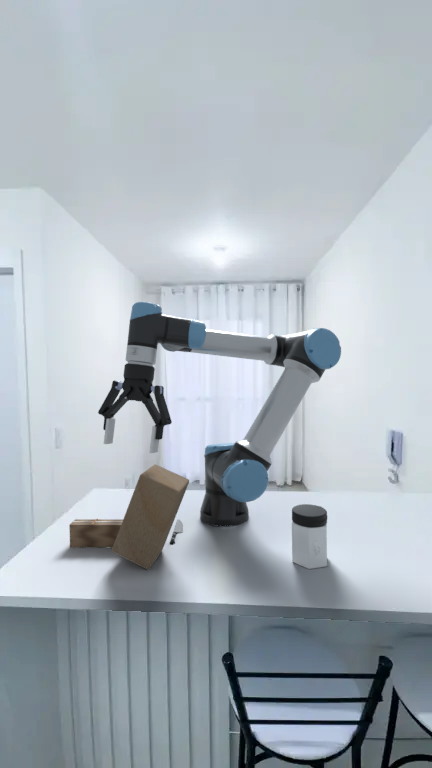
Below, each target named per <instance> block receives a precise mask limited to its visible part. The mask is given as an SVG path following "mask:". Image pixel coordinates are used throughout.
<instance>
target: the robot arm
mask: <svg viewBox="0 0 432 768" xmlns="http://www.w3.org/2000/svg"><path fill="white" fill-rule="evenodd" d="M162 310H163V309H162V307H161V305H159V304H157V303H153V302H148V301H136V302H135V303H134V304H132V306H131V313H130V318H129V324H128V325H129V327H128V335H127V344H126V345H127V346H126V353H125V362H127V363H125V364H124V369H123V378H124V380H123V382H122V381H121V380H112V383H111V387H110V390H109V392H108V393H107V395H106V397H105V399H104V401H103V402H102V404H101V406H100V407H99V410H98V411H97V413H98V415H101V416H102V417H103V418H104V419H103V431H104V436H103V437H104V438H103V444H104V445H109V444H110V445H111V444H113V442H114V435H115V427H116V426H115V424H116V418H114V417H115V415H116V414H117V413H118V412H119V411H120V410H121V409H122V408H123V407H124V406H125V404H126V403H127V402H128V401H135V402H141V403H142V404H143V405H144V406H145V408H146V410H147V411H148V414H149V416H150V417H151V419H152V421H153V423H154V424H155V425H152V428H151V435H150V436H151V437H150V446H149V454H155V453H158V452H159V443H160V440H162V439H163V435H164V427H165V426H169V425H172V423H173V421H172V419H171V415H170V411H169V409H168V405H167V402H166V399H165V395H164V392H165V391H164V389H165V388H164V386H163V385H158V384H157V385H153V383H154V382H153V381H154V379H155V370H156V368H155V367H154V365H156V362H157V352H158V345H159V344H160V345H161V347H162V348H163V349H164V350H165V351H168V352H183V353H192V354H193V353H194V354H195V353H196V354H201V355H202V354H203V355H211V356H220V357H228V358H237V359H238V358H239V359H246V360H255V361H262V362H264V363H265V364H266V365H269V366H275V367H276V366H277V367H281V368H284V369H283V372H282V373H281V375H280V377H279V378H278V380H277V382H276V383H275V385H274V387H273V389H272V391H271V392H270V394H269V396H268V397H267V399H266V400H265V402H264V404H263V405H262V407H261V409H260V410H259V412H258V414H257V416H256V417H255V419H254V420H253V423H252V424H251V425H250V428H249V429H248V431H247V432H246V434H245V436H244V437H243V438H242V439H239V440H237V441H235V442H227V443H226V442H225V443H224V442H223V443H222V442H221V443H213V444H208V445H206V446H205V448H204V455H203V456H204V475H205V476H204V478H205V479H204V481H205V483H204V484H205V491H204V492H205V494H204V496H203V500H202V504H201V507H200V510H199V512H200V513H199V515H200V520H201V521H202V522H203V523H205V524H207V525H210V526H214V527H233V526H239V525H241V524H243V523H245V522H247V521H248V519H249V516H250V515H249V514H250V513H249V508H248V505H247V504H248V503H250V502H253V501H256V500H258V499H259V498H260V497H261V496H262V495H264V493H265V491H266V490H267V489H268V486H269V474H268V471H269V469H270V467H271V466H272V463H273V462H272V459H271V454H272V453H273V451H274V450H275V449H274V448H275V447H276V445H277V444H278V442H279V440H280V439H281V437H282V435H283V434H284V432H285V430H286V428H287V427H288V425H289V424H290V421H291V420H292V418H293V416H294V414H295V413H296V411H297V408H299V406H300V403H301V402H302V400H303V399H304V398H305V395H306V393H307V391H308V389H309V388H310V387H311V385H312V384H313V383H317V382H320V380H321V378H322V377H323V374H324V373H325V372H326V370H330V369H332V368H334V367H335V366H336V365H337V364H338V363H339V361H340V358H341V357H342V356H341V355H342V346H341V345H340V340H339V338H338V337H337V335H336V334H335V333H334V331H331V330H330V329H327V328H324V327H319V328H318V327H313V328H311V329H309V330H304V331H301V332H296V333H295V332H293V333H291V334H286V335H285V334H284V335H275V334H270V335H268V336H267V337H266V336H259V335H251V334H245V333H238V332H229V331H222V330H214V329H208V328H207V326H206V324H205V322H203V321H200V320H195V318H194V319H193V318H186V317H180V316H173V315H168V314H164V313H163V311H162ZM122 390H123V391H122ZM121 391H122V392H121ZM120 392H121V394H120ZM152 393H153V396H154V399H155V403H156V404H155V403H154V399H153V397H152V395H151V394H152ZM118 395H119V396H118ZM117 397H118V398H117ZM116 399H117V400H116ZM156 406H157V407H156Z"/></svg>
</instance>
